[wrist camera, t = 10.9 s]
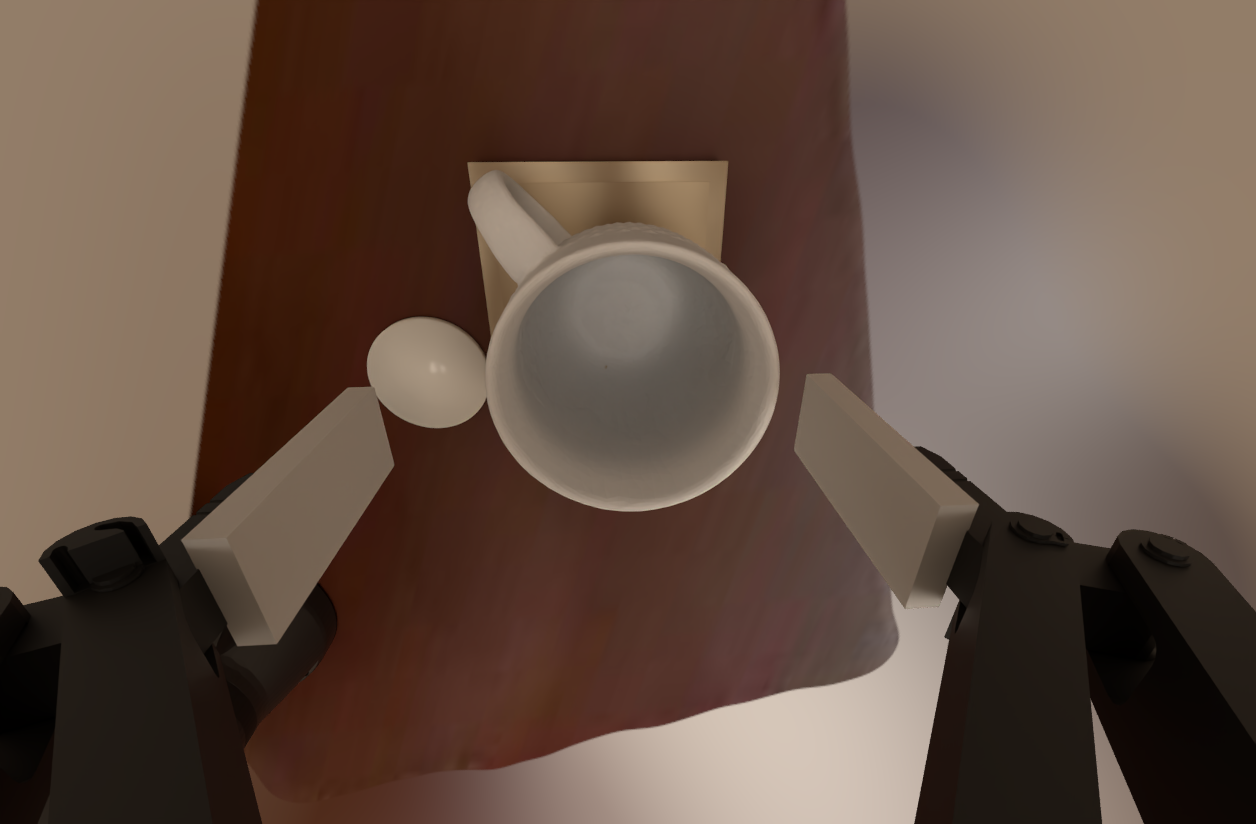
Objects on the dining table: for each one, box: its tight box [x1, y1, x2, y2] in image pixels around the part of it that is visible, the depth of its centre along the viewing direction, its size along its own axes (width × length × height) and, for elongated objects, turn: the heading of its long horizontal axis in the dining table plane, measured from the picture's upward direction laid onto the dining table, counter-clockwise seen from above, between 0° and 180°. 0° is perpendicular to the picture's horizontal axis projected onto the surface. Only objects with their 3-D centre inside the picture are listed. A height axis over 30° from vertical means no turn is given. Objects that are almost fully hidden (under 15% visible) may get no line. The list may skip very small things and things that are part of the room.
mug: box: [468, 170, 780, 511], centre depth 23 cm, size 15×11×13 cm
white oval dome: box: [367, 316, 487, 428], centre depth 34 cm, size 8×8×1 cm
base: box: [468, 161, 728, 336], centre depth 31 cm, size 14×14×3 cm
